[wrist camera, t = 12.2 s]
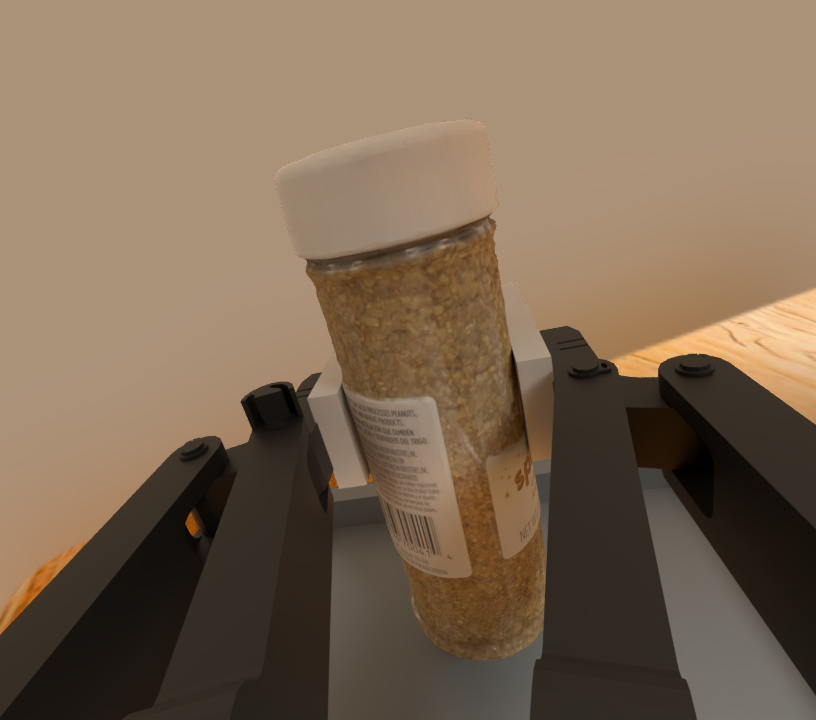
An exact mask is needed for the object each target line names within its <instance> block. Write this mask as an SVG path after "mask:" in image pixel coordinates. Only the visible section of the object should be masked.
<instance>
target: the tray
mask: <svg viewBox="0 0 816 720" xmlns="http://www.w3.org/2000/svg"><path fill="white" fill-rule="evenodd" d="M533 467H534V473H535V479H536V484H537V490H538V496H539V501H540V521H541V526H542V533H543V540H544V545H545V551H546V557H547V539H548V517H549V496H550V474H551V459H550V460H542V461H535V462H533ZM638 471H639V476H640V481H641V486H642V491H643V496H644V501H645V506H646V511H647V516H648V521H649V525H650V530H651V535H652V540H653V545H654V550H655V555H656V560H657V565H658V570H659V575H660V580H661V584H662V589H663V594H664V599H665V604H666V609H667V614H668V619H669V624H670V629H671V634H672V639H673V643H674V648H675V653H676V658H677V663H678V667H679V671H680V674H681V677H682V678H684V679H686V681H687V683H688V686H689V689H690V692H691V696H692V700H693V704H694V708H695V712H696V717H697V720H816V695H815V694H814V693H813V691H812V690H811V688H810V687H809V685H808V684H807V682H806V681H805V680H804V678H803V677H802V675H801V674H800V672H799V671H798V670H797V668H796V667H795V665H794V664H793V662H792V661H791V659H790V658H789V657H788V655H787V654H786V652H785V651H784V649H783V648H782V646H781V645H780V644H779V642H778V641H777V639H776V638H775V636H774V635H773V634H772V632H771V631H770V629H769V628H768V626H767V625H766V623H765V622H764V621H763V619H762V618H761V616H760V615H759V613H758V612H757V611H756V609H755V608H754V606H753V605H752V603H751V602H750V600H749V599H748V598H747V596H746V595H745V593H744V592H743V590H742V589H741V587H740V586H739V585H738V583H737V582H736V580H735V579H734V577H733V576H732V575H731V573H730V572H729V570H728V569H727V567H726V566H725V564H724V563H723V562H722V560H721V559H720V557H719V556H718V554H717V553H716V552H715V550H714V549H713V547H712V546H711V544H710V543H709V541H708V540H707V539H706V537H705V536H704V534H703V533H702V531H701V530H700V529H699V527H698V526H697V524H696V523H695V521H694V520H693V518H692V517H691V516H690V514H689V513H688V511H687V510H686V508H685V507H684V505H683V504H682V503H681V501H680V500H679V498H678V497H677V495H676V494H675V493H674V491H673V490H672V488H671V487H670V485H669V484H668V482H667V481H666V480H665V478H664V476H663V473H662V470H661V469H655V468H641V467H638ZM331 491H332V494H333V497H334V511H333V548H332V584H331V621H330V658H329V694H328V720H530V706H531V690H532V679H533V669H534V665H535V661H536V659H541V655H542V646H543V630H542V631H541V632H540V633H539V635H538V637H537V638H536V640H535V641H533V642H532V643H531V644H530V645H529V646H528V647H527V648H524V649H522V650H521V651H519V652H518V653H516V654H515V655H513V656H511V657H506V658H501V659H495V660H481V661H474V660H467V659H464V658H459V657H456V656H453V655H451V654H449V653H447V652H446V651H444V650H442V649H441V648H439V647H437V646H436V645H435V644H433V643H432V642H431V641H430V640H429V639H428V637H427V636H426V635H425V634H424V633H423V631H422V630H421V628H420V626H419V624H418V622H417V621H416V619H415V616H414V613H413V609H412V604H411V589H410V585H409V581H408V578H407V576H406V573H405V569H404V566H403V562H402V559H401V556H400V553H399V552H398V551H397V549H396V547H395V545H394V543H393V540H392V537H391V534H390V531H389V528H388V525H387V522H386V519H385V515H384V512H383V509H382V506H381V503H380V500H379V497H378V494H377V491H376V487H375V484H374V482H372V483H367V485H363V486H356V487H349V488H342V489H339V487H336V488H331Z"/></svg>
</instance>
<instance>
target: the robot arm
mask: <svg viewBox="0 0 816 720" xmlns="http://www.w3.org/2000/svg"><path fill="white" fill-rule="evenodd" d="M501 287H502V293H503V297H504V301H505V312H506V318H507V326H508V331H509V336H510V343H511V348H512V355H513V360H514V364H515V369H516V374H517V379H518V385H519V390H520V396H521V403H522V409H523V415H524V421H525V428H526V434H527V440H528V446H529V451H530V455H531V459H532V462H535V461H542V460H550V459H551V474H550V496H549V517H548V539H547V561H546V582H545V604H544V626H543V646H542V655H541V659H536V661H535V665H534V669H533V679H532V690H531V706H530V720H697V717H696V712H695V708H694V704H693V700H692V696H691V692H690V689H689V686H688V683H687V681H686V679H684V678H682V677H681V674H680V671H679V667H678V663H677V658H676V653H675V648H674V643H673V639H672V634H671V629H670V624H669V619H668V614H667V609H666V604H665V599H664V594H663V589H662V584H661V580H660V575H659V570H658V565H657V560H656V555H655V550H654V545H653V540H652V535H651V530H650V525H649V521H648V516H647V511H646V506H645V501H644V496H643V491H642V486H641V481H640V476H639V471H638V467H641V468H655V469H661V470H662V473H663V476H664V478H665V480H666V481H667V482H668V484H669V485H670V487H671V488H672V490H673V491H674V493H675V494H676V495H677V497H678V498H679V500H680V501H681V503H682V504H683V505H684V507H685V508H686V510H687V511H688V513H689V514H690V516H691V517H692V518H693V520H694V521H695V523H696V524H697V526H698V527H699V529H700V530H701V531H702V533H703V534H704V536H705V537H706V539H707V540H708V541H709V543H710V544H711V546H712V547H713V549H714V550H715V552H716V553H717V554H718V556H719V557H720V559H721V560H722V562H723V563H724V564H725V566H726V567H727V569H728V570H729V572H730V573H731V575H732V576H733V577H734V579H735V580H736V582H737V583H738V585H739V586H740V587H741V589H742V590H743V592H744V593H745V595H746V596H747V598H748V599H749V600H750V602H751V603H752V605H753V606H754V608H755V609H756V611H757V612H758V613H759V615H760V616H761V618H762V619H763V621H764V622H765V623H766V625H767V626H768V628H769V629H770V631H771V632H772V634H773V635H774V636H775V638H776V639H777V641H778V642H779V644H780V645H781V646H782V648H783V649H784V651H785V652H786V654H787V655H788V657H789V658H790V659H791V661H792V662H793V664H794V665H795V667H796V668H797V670H798V671H799V672H800V674H801V675H802V677H803V678H804V680H805V681H806V682H807V684H808V685H809V687H810V688H811V690H812V691H813V693H814V694H815V695H816V425H815V424H814V423H812V422H811V421H810V420H808V419H807V418H805V417H804V416H803V415H801V414H800V413H799V412H797V411H796V410H794V409H793V408H792V407H790V406H789V405H787V404H786V403H785V402H783V401H782V400H781V399H779V398H778V397H776V396H775V395H774V394H772V393H771V392H769V391H768V390H767V389H765V388H764V387H763V386H761V385H760V384H758V383H757V382H756V381H754V380H753V379H751V378H750V377H749V376H747V375H746V374H745V373H743V372H742V371H740V370H739V369H738V368H736V367H735V366H733V365H732V364H731V363H729V362H727V361H725V360H723V359H721V358H718V357H713V356H708V355H706V354H699V355H697V354H688V355H683V356H677V357H673V358H670V359H667V360H666V361H664V362H662V363H661V364H660V366H659V368H658V377H645V378H640V377H627V376H621V375H619V373H618V369H617V367H616V366H615V364H614V363H611V362H609V361H607V360H603V359H598V358H597V356H596V355H595V353H594V352H593V350H592V349H591V347H590V346H589V345H588V343H587V342H586V341H585V339H584V338H583V336H582V335H581V333H580V332H579V331H578V330H575V329H573V328H571V327H568V326H564V327H559V328H553V329H548V330H542V331H539V330H538V328H537V326H536V324H535V322H534V320H533V318H532V316H531V314H530V312H529V310H528V307H527V305H526V303H525V301H524V299H523V297H522V295H521V293H520V291H519V289H518V287H517V285H516V283H515V281H511V282H506V283H501ZM241 404H242V406H243V408H244V411H245V413H246V416H247V418H248V420H249V423H250V425H251V427H252V433H251V436H250V438H249V441H248V442H247V443H245V444H242V445H239V446H236V447H233V448H230V449H227V450H225V448H224V446H223V443H222V441H221V439H220V438H218V437H216V436H208V437H203V438H197V439H193V441H189V442H187V443H186V444H185V445H184V446H182V447H180V448H178V449H177V450H176V451H175V452H174V453H172V454H171V455H170V456H169V457H168V458H167V460H165V461H164V462H163V464H162V465H161V466H160V467H159V468H158V469H157V470H156V471H155V472H154V473H153V474H152V475H151V476H150V477H149V478H148V479H147V480H146V482H145V483H144V484H143V485H142V486H141V487H140V488H139V489H138V490H137V491H136V492H135V493H134V494H133V495H132V496H131V497H130V498H129V499H128V501H127V502H126V503H125V504H124V505H123V506H122V507H121V508H120V509H119V510H118V511H117V512H116V513H115V514H114V515H113V517H111V519H110V520H109V521H108V522H107V523H106V524H105V525H104V526H103V527H102V528H101V529H100V530H99V531H98V532H97V533H96V534H95V535H94V536H93V538H92V539H91V540H90V541H89V542H88V543H87V544H86V545H85V546H84V547H83V548H82V549H81V550H80V551H79V552H78V553H77V554H76V555H75V557H74V558H73V559H72V560H71V561H70V562H69V563H68V564H67V565H66V566H65V567H64V568H63V569H62V570H61V571H60V572H59V573H58V575H57V576H56V577H55V578H54V579H53V580H52V581H51V582H50V583H49V584H48V585H47V586H46V587H45V588H44V589H43V590H42V591H41V592H40V594H39V595H38V596H37V597H36V598H35V599H34V600H33V601H32V602H31V603H30V604H29V605H28V606H27V607H26V608H25V609H24V610H23V612H22V613H21V614H20V615H19V616H18V617H17V618H16V619H15V620H14V621H13V622H12V623H11V624H10V625H9V626H8V627H7V628H6V629H5V631H4V632H3V633H2V634H1V635H0V720H328V694H329V658H330V621H331V584H332V548H333V511H334V497H333V494H332V491H331V488H330V486H329V480H330V478H331V475H332V472H333V473H334V476H335V479H336V482H337V484H338V487H339V489H342V488H349V487H356V486H363V485H367V482H368V478H369V474H370V469H369V466H368V463H367V459H366V456H365V453H364V450H363V447H362V444H361V441H360V438H359V435H358V432H357V429H356V425H355V422H354V419H353V416H352V413H351V410H350V407H349V404H348V401H347V398H346V395H345V392H344V389H343V384H342V371H341V367H340V365H339V363H338V361H337V357H336V353H335V351H334V353H333V354H332V356H331V358H330V360H329V362H328V363H327V365H326V367H325V368H324V370H323V372H321V373H315V374H312V375H311V376H309V377H308V378H307V379H306V380H304V381H303V382H302V383H301V385H300V386H299V388H298V389H297V392H295V390H294V387H293V385H292V383H289V382H276V383H271V384H268V385H265V386H262V387H260V388H258V389H256V390H254V391H252V392H250V393H249V394H247V395H246V396H245V397H244V398H243V399H242V400H241ZM190 512H191V513H192V515H193V517H194V519H195V521H196V523H197V525H198V527H199V530H198V532H197V533H196V535H195V536H194V537H193V536H192V535H191V534H190V532H189V531H188V529H187V527H186V525H185V522H186V520H187V517H188V515H189V514H190Z"/></svg>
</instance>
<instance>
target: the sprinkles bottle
mask: <svg viewBox="0 0 816 720" xmlns="http://www.w3.org/2000/svg"><path fill="white" fill-rule="evenodd" d="M274 181H275V186H276V190H277V194H278V198H279V201H280V205H281V208H282V212H283V215H284V218H285V222H286V225H287V228H288V232H289V235H290V238H291V241H292V244H293V248H294V251H295V253H296V255H297V256H298V257H301V258H304V259H306V260H307V266H306V273H307V275H308V276H309V277H310V279H311V280H312V281H313V283H314V285H315V287H316V292H317V297H318V300H319V303H320V306H321V309H322V311H323V315H324V317H325V319H326V322H327V326H328V331H329V334H330V336H331V339H332V343H333V346H334V349H335V353H336V357H337V361H338V363H339V365H340V367H341V371H342V384H343V389H344V392H345V395H346V398H347V401H348V404H349V407H350V410H351V413H352V416H353V419H354V422H355V425H356V429H357V432H358V435H359V438H360V441H361V444H362V447H363V450H364V453H365V456H366V459H367V463H368V466H369V469H370V472H371V475H372V478H373V481H374V484H375V487H376V491H377V494H378V497H379V500H380V503H381V506H382V509H383V512H384V515H385V519H386V522H387V525H388V528H389V531H390V534H391V537H392V540H393V543H394V545H395V547H396V549H397V551H398V552H399V553H400V556H401V559H402V562H403V566H404V569H405V573H406V576H407V578H408V581H409V585H410V589H411V604H412V609H413V613H414V616H415V619H416V621H417V622H418V624H419V626H420V628H421V630H422V631H423V633H424V634H425V635H426V636H427V637H428V639H429V640H430V641H431V642H432V643H433V644H435V645H436V646H437V647H439V648H441V649H442V650H444V651H446V652H447V653H449V654H451V655H453V656H456V657H459V658H464V659H467V660H474V661H481V660H495V659H501V658H506V657H511V656H513V655H515V654H516V653H518V652H519V651H521V650H522V649H524V648H527V647H528V646H529V645H530V644H531V643H532V642H533V641H535V640H536V638H537V637H538V635H539V633H540V632H541V631H542V630H543V626H544V604H545V582H546V561H547V557H546V551H545V545H544V540H543V533H542V526H541V521H540V501H539V496H538V490H537V484H536V479H535V473H534V467H533V462H532V459H531V455H530V451H529V446H528V440H527V434H526V428H525V421H524V415H523V409H522V403H521V396H520V390H519V385H518V379H517V374H516V369H515V364H514V360H513V355H512V348H511V343H510V336H509V331H508V326H507V318H506V312H505V301H504V297H503V293H502V287H501V282H500V275H499V270H498V260H497V256H496V254H495V251H494V250H495V249H494V248H495V242H494V240H493V236H494V231H495V229H496V224H495V223H496V222H495V220H493V219H491V218H489V216H490V215H491V214H492V213H493V212H494V210H496V208H497V206H498V198H497V191H496V184H495V177H494V170H493V165H492V159H491V154H490V149H489V143H488V138H487V133H486V129H485V127H484V125H483V124H481V122H479V121H478V120H473V119H461V120H454V121H449V122H446V121H442V122H435V123H428V124H422V125H417V126H413V127H408V128H403V129H399V130H396V131H392V132H387V133H383V134H378V135H374V136H370V137H367V138H363V139H359V140H356V141H352V142H349V143H345V144H342V145H338V146H335V147H331V148H328V149H325V150H322V151H319V152H317V153H314V154H311V155H309V156H307V157H305V158H303V159H300V160H297V161H294V162H292V163H290V164H288V165H285V166H283V167H281V168H280V169H279V171H278V172H277V173H276V175H275V180H274Z"/></svg>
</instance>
